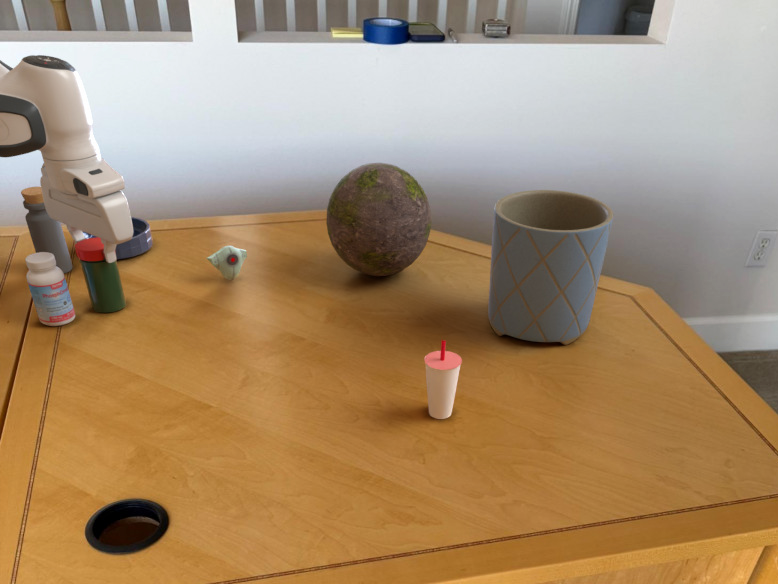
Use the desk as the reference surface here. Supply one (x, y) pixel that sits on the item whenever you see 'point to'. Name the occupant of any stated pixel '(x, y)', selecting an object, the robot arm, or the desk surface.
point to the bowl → (133, 240)
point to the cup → (441, 381)
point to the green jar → (103, 285)
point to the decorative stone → (378, 219)
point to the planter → (546, 264)
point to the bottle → (45, 229)
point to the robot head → (228, 261)
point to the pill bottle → (49, 290)
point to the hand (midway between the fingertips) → (97, 255)
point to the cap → (90, 249)
